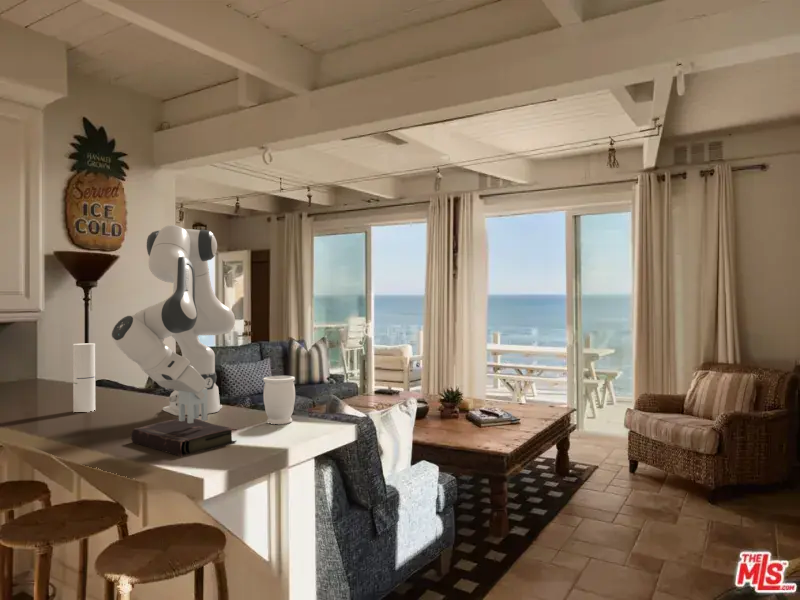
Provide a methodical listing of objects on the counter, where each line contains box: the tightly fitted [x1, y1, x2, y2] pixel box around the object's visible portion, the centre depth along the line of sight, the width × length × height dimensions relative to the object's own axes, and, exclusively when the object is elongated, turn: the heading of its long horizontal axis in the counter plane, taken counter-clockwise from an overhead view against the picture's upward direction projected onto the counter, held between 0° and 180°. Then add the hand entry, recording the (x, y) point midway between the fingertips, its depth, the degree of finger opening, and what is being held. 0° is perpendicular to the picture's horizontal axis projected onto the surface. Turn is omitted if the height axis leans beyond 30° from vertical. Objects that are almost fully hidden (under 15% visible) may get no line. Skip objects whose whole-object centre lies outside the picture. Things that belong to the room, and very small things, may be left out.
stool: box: [178, 388, 209, 423], centre depth 161 cm, size 6×6×9 cm
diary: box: [130, 416, 237, 457], centre depth 162 cm, size 19×25×5 cm
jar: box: [262, 375, 296, 425], centre depth 188 cm, size 11×10×15 cm
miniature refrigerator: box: [72, 342, 96, 413], centre depth 210 cm, size 7×7×25 cm
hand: (195, 396), depth 162 cm, fingers closed on stool, 6 cm apart
